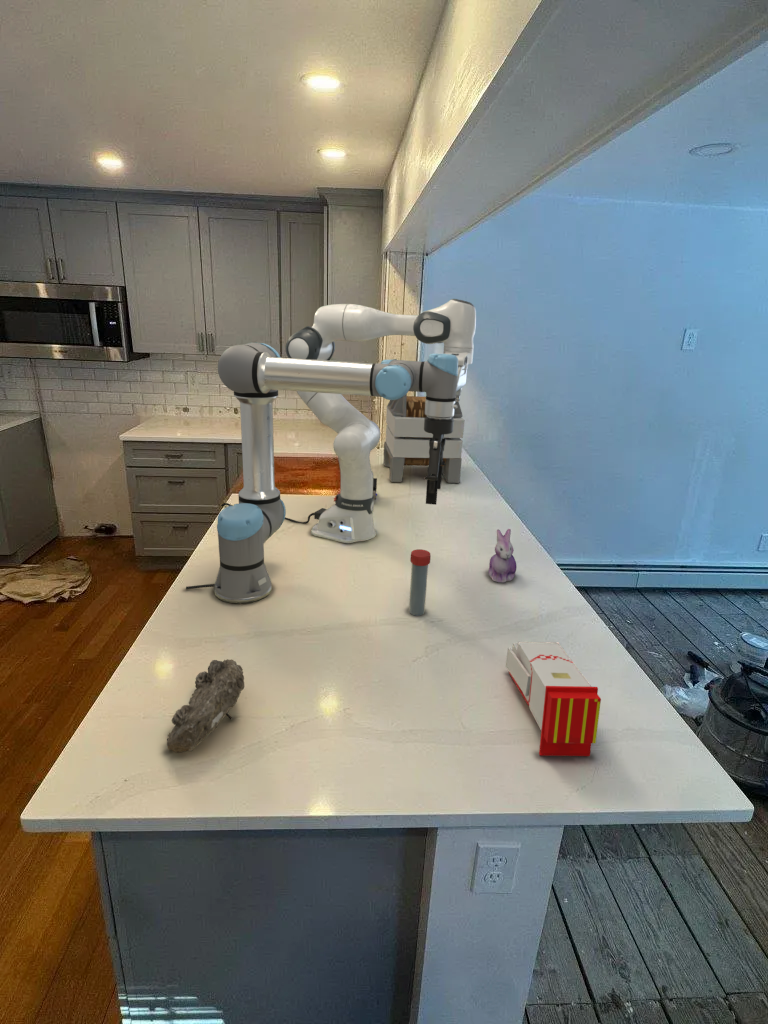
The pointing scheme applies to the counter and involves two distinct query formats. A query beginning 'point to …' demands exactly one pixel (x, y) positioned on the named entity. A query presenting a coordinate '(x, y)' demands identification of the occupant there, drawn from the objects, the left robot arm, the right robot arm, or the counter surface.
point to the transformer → (418, 439)
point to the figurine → (502, 559)
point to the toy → (556, 697)
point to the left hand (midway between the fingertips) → (433, 496)
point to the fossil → (206, 705)
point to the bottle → (418, 589)
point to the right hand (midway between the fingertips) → (454, 403)
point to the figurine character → (374, 487)
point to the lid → (420, 557)
